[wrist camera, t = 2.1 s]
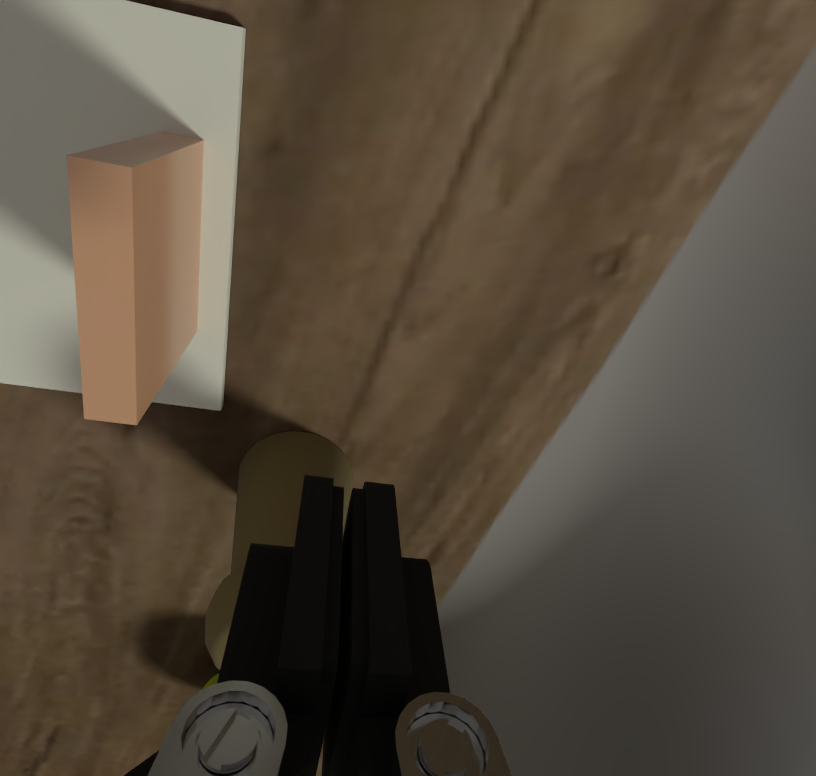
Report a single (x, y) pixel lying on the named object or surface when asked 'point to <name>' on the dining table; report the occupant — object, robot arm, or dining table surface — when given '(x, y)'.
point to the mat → (98, 126)
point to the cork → (270, 511)
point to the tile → (134, 267)
